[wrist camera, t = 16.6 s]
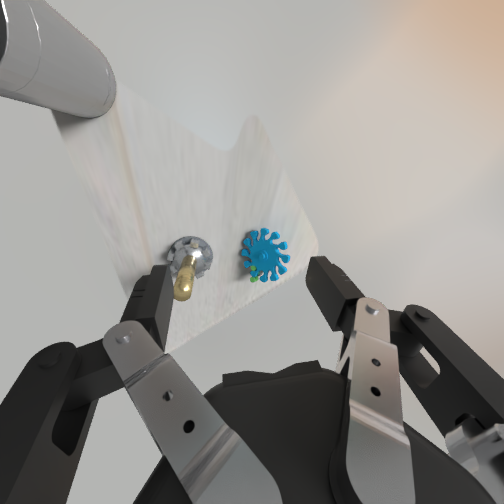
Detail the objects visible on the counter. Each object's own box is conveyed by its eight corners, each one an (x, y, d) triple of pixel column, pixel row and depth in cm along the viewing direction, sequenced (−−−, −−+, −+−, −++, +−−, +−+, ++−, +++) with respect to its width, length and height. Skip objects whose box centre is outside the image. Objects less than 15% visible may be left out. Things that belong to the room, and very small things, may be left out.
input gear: (166, 269, 42) (148, 309, 31) (174, 233, 39) (158, 264, 28) (205, 277, 44) (201, 319, 33) (216, 244, 41) (215, 277, 30)
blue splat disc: (253, 217, 39) (297, 251, 35) (270, 216, 43) (310, 246, 39) (230, 264, 44) (266, 298, 40) (247, 259, 48) (281, 289, 44)
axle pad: (166, 268, 42) (165, 269, 42) (174, 231, 39) (174, 231, 39) (206, 277, 44) (206, 278, 44) (217, 242, 41) (217, 243, 41)
